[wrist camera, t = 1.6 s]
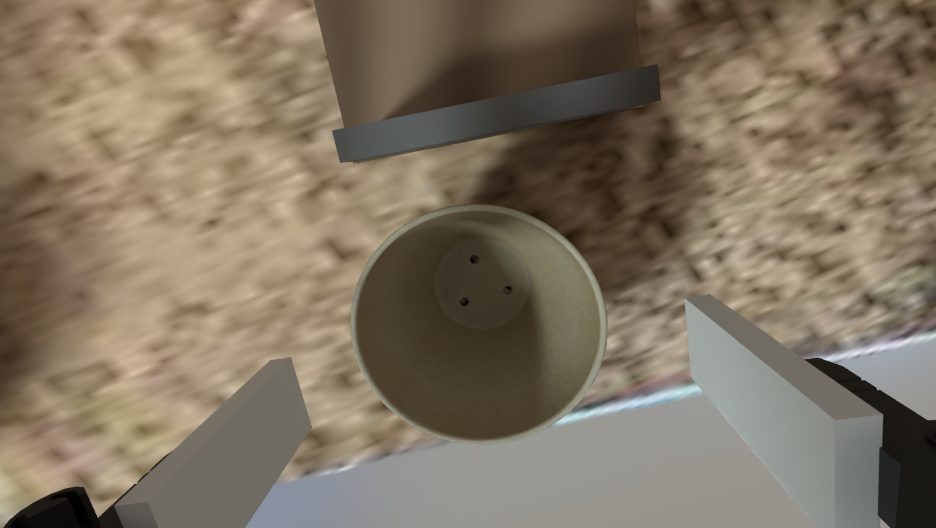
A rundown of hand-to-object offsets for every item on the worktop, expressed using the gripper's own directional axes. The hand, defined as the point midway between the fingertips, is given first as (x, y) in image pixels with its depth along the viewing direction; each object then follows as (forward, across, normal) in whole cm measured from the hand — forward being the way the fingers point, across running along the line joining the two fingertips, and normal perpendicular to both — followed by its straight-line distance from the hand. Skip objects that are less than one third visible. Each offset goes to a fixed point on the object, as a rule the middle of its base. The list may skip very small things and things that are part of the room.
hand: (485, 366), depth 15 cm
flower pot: (+10, 0, 0) cm, 10 cm away
